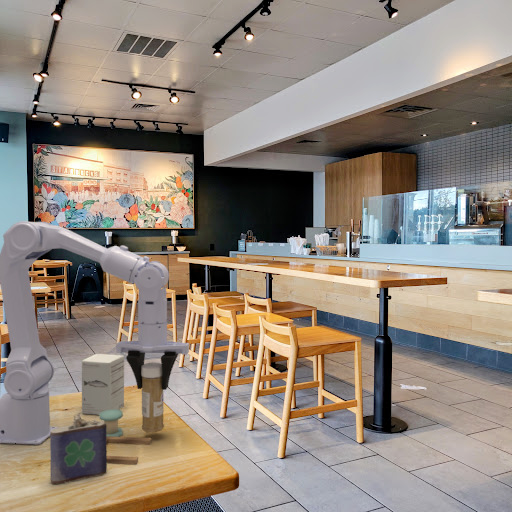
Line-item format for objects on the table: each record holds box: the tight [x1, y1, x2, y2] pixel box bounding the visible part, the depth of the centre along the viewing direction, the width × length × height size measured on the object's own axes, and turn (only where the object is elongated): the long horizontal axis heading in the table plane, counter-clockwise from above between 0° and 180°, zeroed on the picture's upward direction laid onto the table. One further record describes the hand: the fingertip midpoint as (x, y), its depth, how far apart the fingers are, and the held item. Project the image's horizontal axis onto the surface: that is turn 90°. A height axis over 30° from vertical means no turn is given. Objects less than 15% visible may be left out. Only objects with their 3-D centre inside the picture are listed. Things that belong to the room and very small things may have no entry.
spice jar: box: [141, 362, 165, 434], centre depth 102 cm, size 5×5×13 cm
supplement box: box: [81, 353, 125, 416], centre depth 117 cm, size 7×7×13 cm
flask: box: [49, 413, 108, 485], centre depth 86 cm, size 9×3×11 cm, turn 117°
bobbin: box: [98, 409, 124, 437], centre depth 103 cm, size 5×5×4 cm
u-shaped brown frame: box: [106, 436, 152, 465], centre depth 96 cm, size 10×10×1 cm
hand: (152, 387), depth 101 cm, fingers closed on spice jar, 4 cm apart
